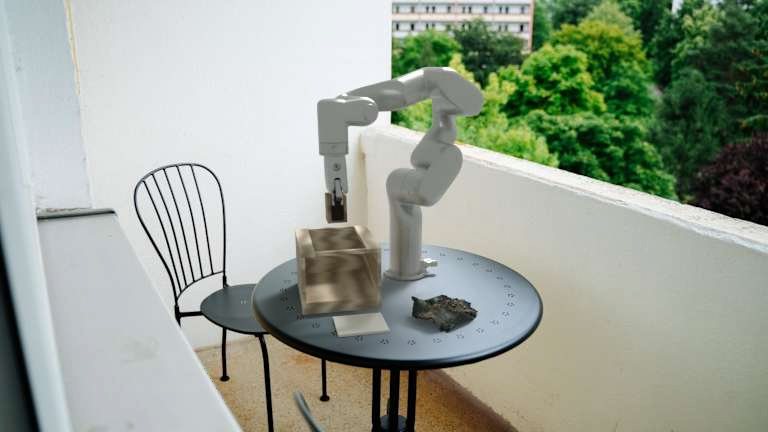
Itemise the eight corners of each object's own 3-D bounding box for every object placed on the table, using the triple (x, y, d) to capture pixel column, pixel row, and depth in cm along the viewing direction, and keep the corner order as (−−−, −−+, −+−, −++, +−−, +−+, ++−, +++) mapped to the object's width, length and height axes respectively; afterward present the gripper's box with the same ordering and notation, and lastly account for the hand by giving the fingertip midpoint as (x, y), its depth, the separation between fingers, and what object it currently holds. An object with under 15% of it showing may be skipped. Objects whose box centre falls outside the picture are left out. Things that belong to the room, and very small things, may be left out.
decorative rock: (432, 282, 155) (486, 288, 148) (433, 304, 156) (486, 311, 149) (400, 303, 139) (458, 311, 132) (400, 327, 140) (459, 336, 133)
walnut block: (344, 217, 155) (343, 191, 153) (347, 222, 150) (346, 195, 148) (325, 218, 154) (324, 192, 152) (328, 223, 149) (326, 197, 147)
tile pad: (380, 314, 145) (380, 312, 144) (389, 332, 135) (389, 329, 135) (332, 318, 142) (332, 316, 142) (338, 337, 133) (338, 334, 133)
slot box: (366, 277, 169) (365, 224, 165) (381, 307, 148) (381, 248, 144) (297, 283, 165) (295, 229, 161) (303, 314, 145) (300, 253, 140)
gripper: (353, 152, 139) (355, 225, 144) (343, 143, 156) (346, 208, 160) (322, 154, 138) (325, 227, 143) (315, 144, 154) (318, 210, 159)
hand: (336, 216), depth 152 cm, fingers closed on walnut block, 5 cm apart
